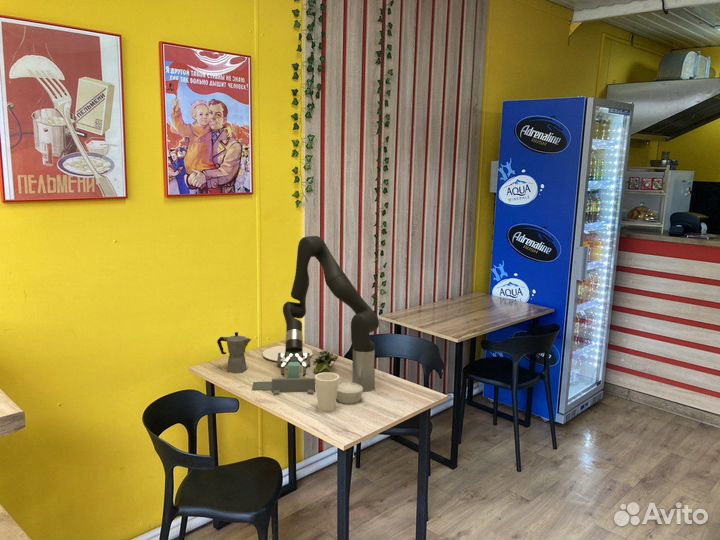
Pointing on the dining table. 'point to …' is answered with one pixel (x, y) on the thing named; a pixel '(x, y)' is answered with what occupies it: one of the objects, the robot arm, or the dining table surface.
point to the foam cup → (326, 390)
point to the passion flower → (324, 361)
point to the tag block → (293, 370)
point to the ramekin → (349, 393)
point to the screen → (293, 385)
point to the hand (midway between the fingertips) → (293, 375)
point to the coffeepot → (235, 352)
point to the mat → (262, 386)
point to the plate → (273, 353)
